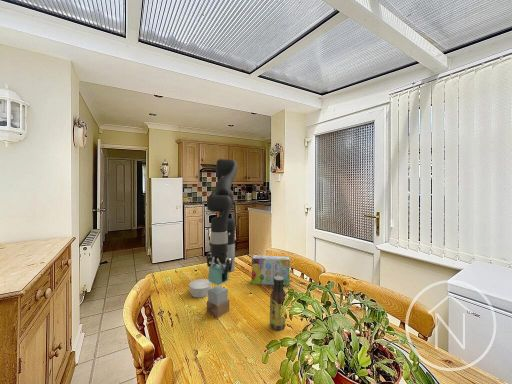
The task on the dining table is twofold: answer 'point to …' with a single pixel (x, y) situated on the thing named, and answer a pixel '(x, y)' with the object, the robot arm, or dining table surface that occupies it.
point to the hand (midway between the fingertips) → (218, 278)
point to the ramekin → (199, 287)
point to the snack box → (270, 269)
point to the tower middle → (217, 295)
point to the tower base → (217, 308)
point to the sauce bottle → (277, 304)
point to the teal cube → (216, 275)
